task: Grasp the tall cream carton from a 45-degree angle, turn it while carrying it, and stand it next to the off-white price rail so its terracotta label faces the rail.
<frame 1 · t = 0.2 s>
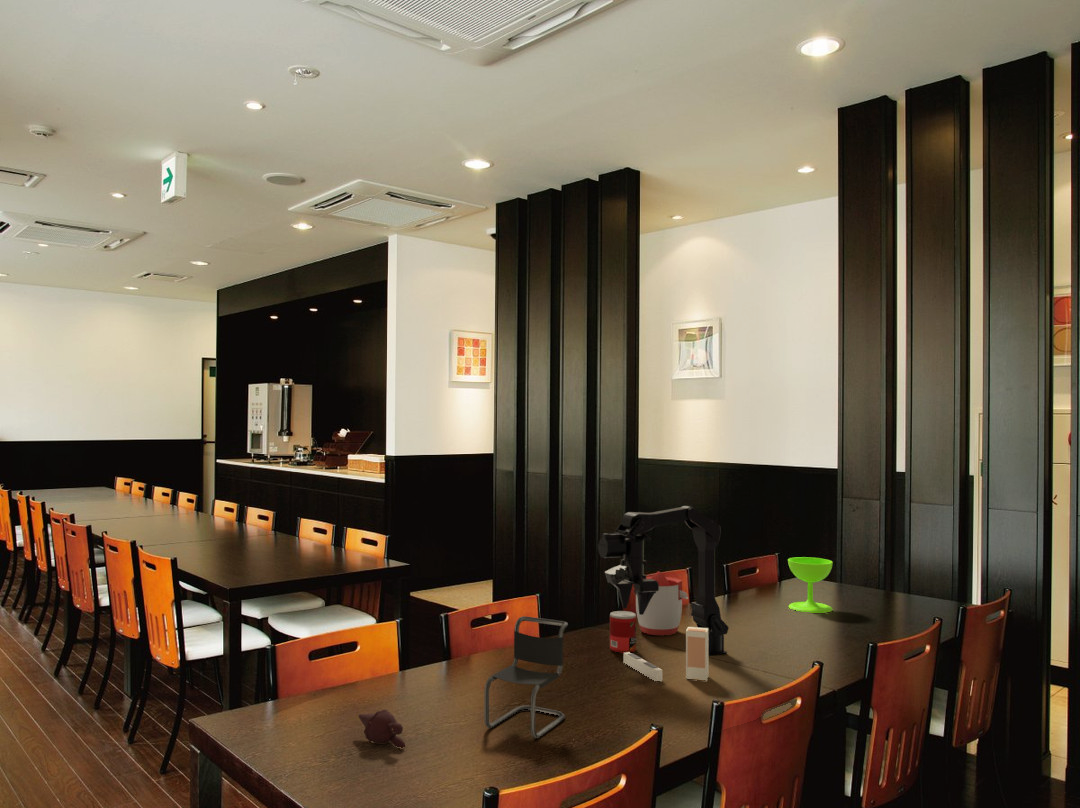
hand: (632, 611, 227), 15 cm above the table, tool pointing down, fingers open, 9 cm apart
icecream: (380, 743, 168), on the table
carton: (697, 677, 213), on the table
chair: (526, 725, 179), on the table
wineglass: (810, 609, 296), on the table
price rail: (642, 671, 218), on the table
citrus juicer: (661, 632, 261), on the table
canned food: (622, 650, 239), on the table
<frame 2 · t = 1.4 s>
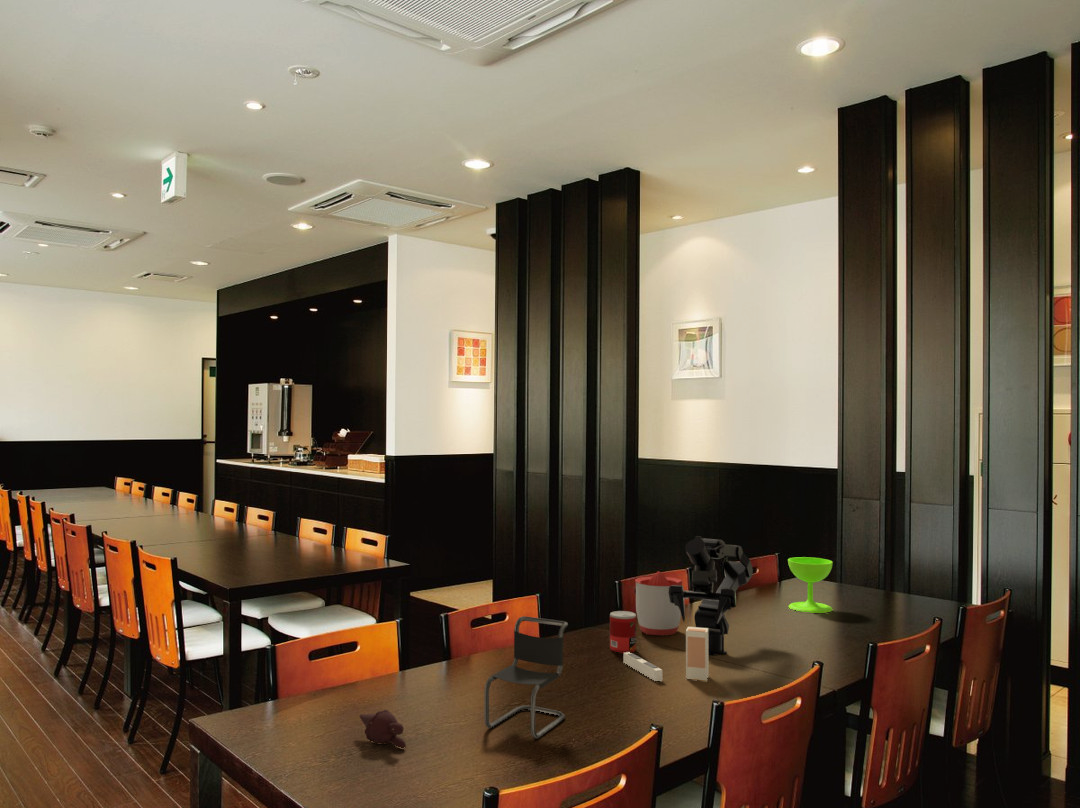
hand: (699, 621, 221), 13 cm above the table, tool tilted 45°, fingers open, 9 cm apart
nothing on the table moved.
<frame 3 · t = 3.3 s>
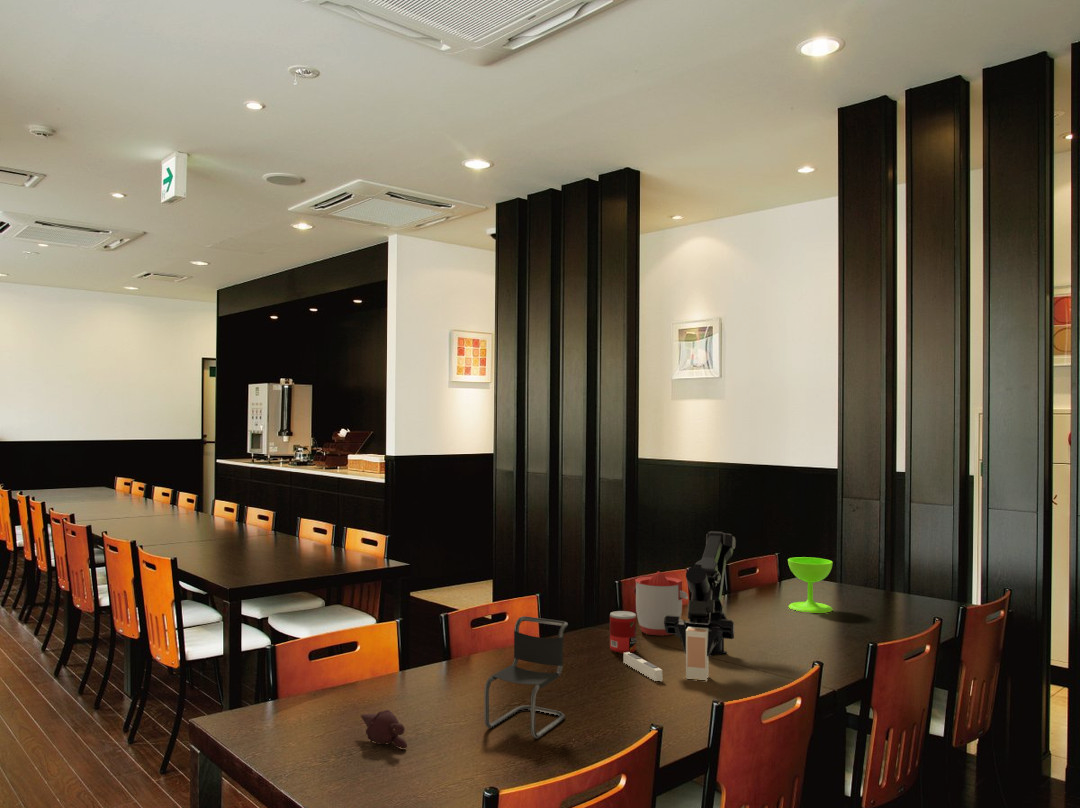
hand: (696, 654, 212), 7 cm above the table, tool tilted 45°, fingers closed on carton, 5 cm apart
carton: (697, 677, 213), on the table, touching gripper
everything else where it was.
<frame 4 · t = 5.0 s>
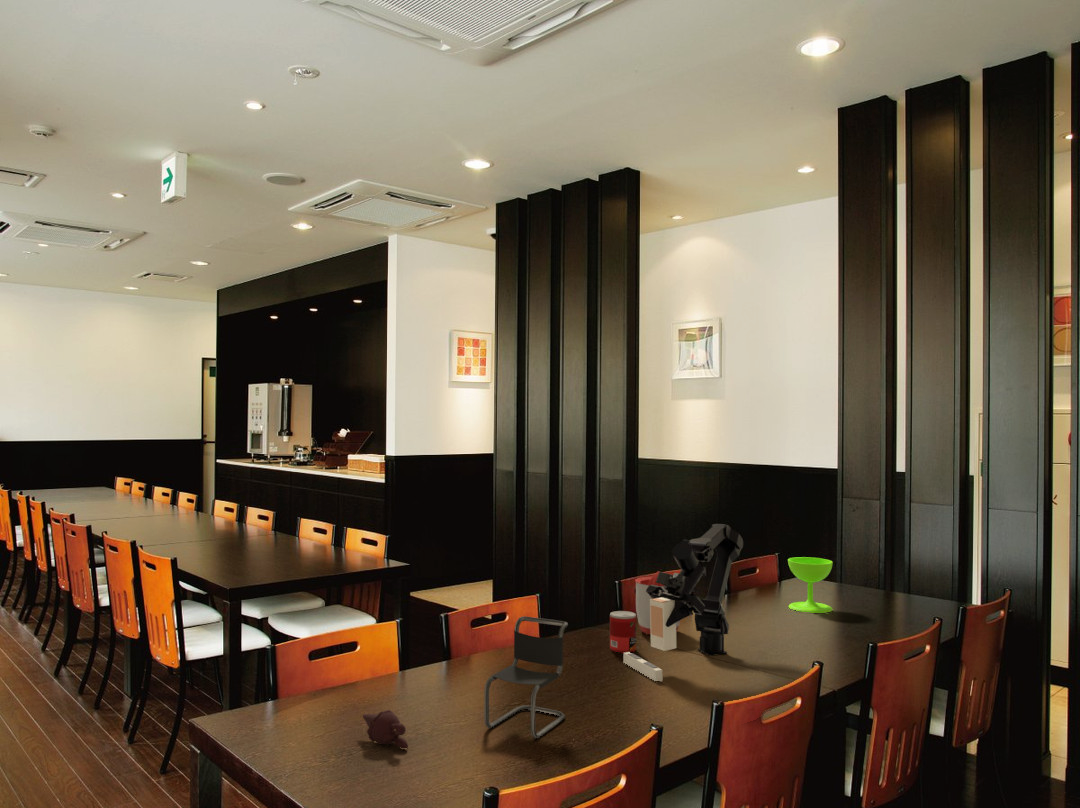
hand: (659, 623, 218), 13 cm above the table, tool tilted 45°, fingers closed on carton, 5 cm apart
carton: (663, 647, 218), point 7 cm above the table, touching gripper
everything else where it was.
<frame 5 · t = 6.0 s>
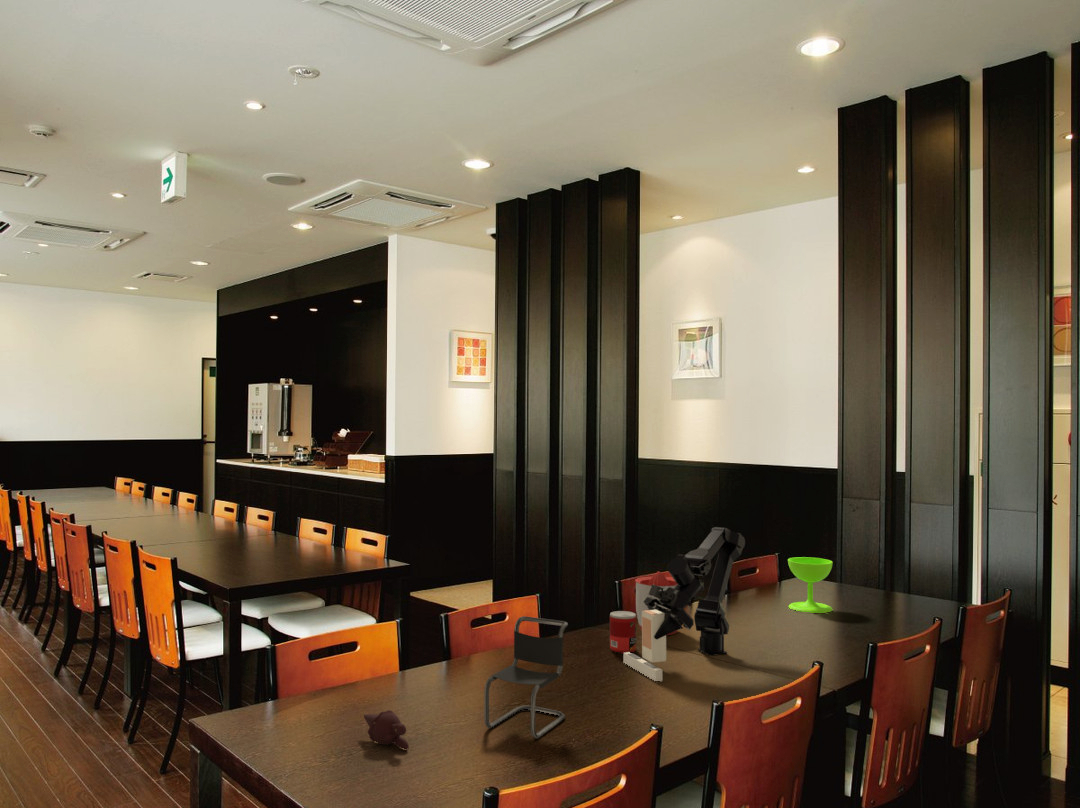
hand: (649, 635, 220), 9 cm above the table, tool tilted 45°, fingers closed on carton, 5 cm apart
carton: (654, 659, 221), point 3 cm above the table, touching gripper
everything else where it was.
when the fingers open (7 cm above the table, at t = 6.8 s): carton stays where it is, on the table.
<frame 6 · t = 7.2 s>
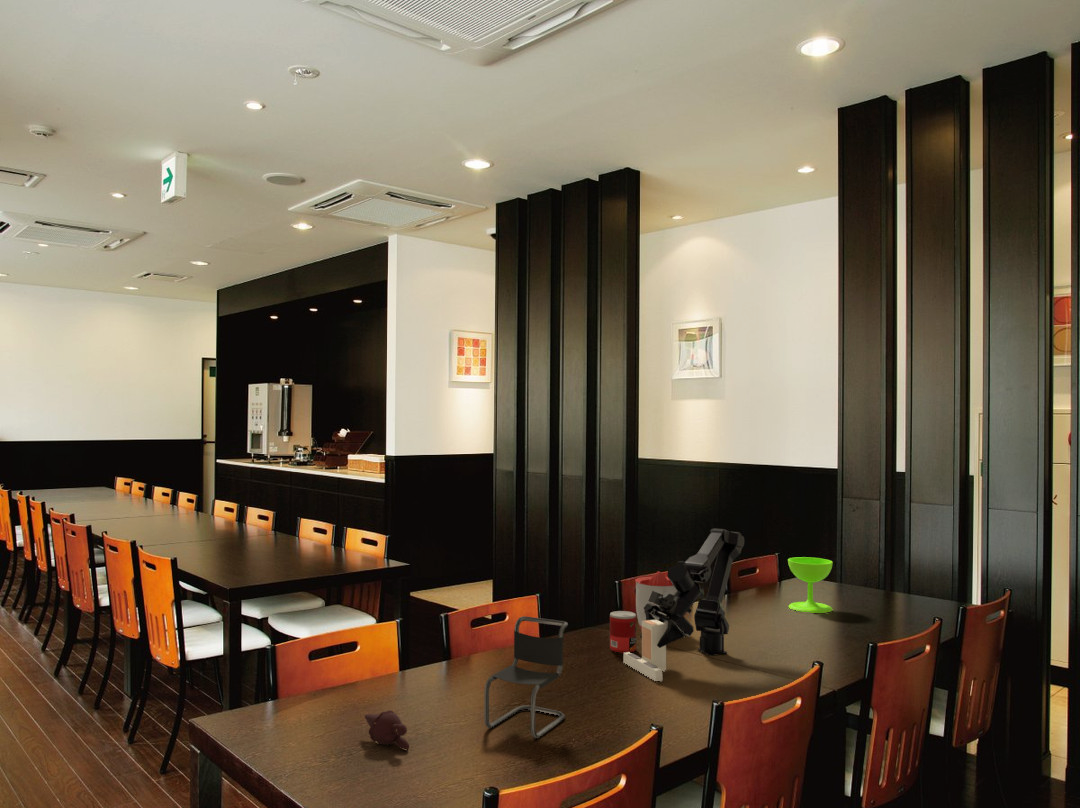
hand: (649, 642, 220), 8 cm above the table, tool tilted 45°, fingers open, 9 cm apart
carton: (653, 669, 220), on the table
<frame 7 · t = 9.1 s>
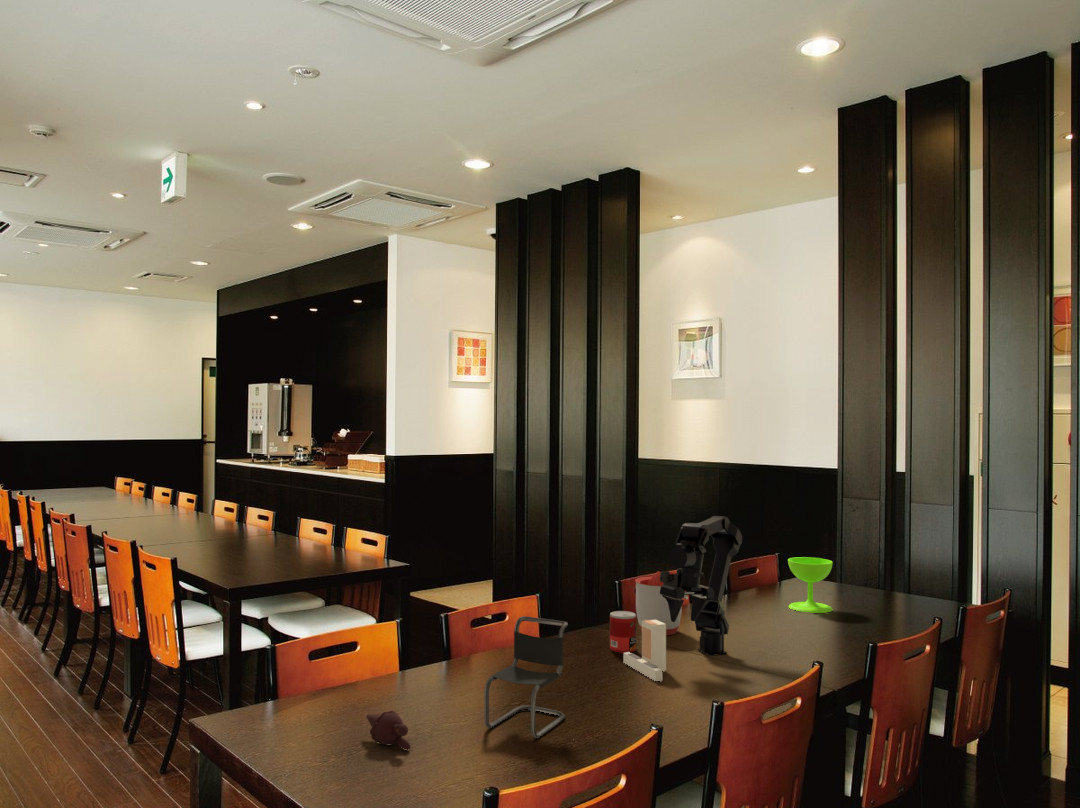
hand: (682, 621, 226), 12 cm above the table, tool pointing down, fingers open, 9 cm apart
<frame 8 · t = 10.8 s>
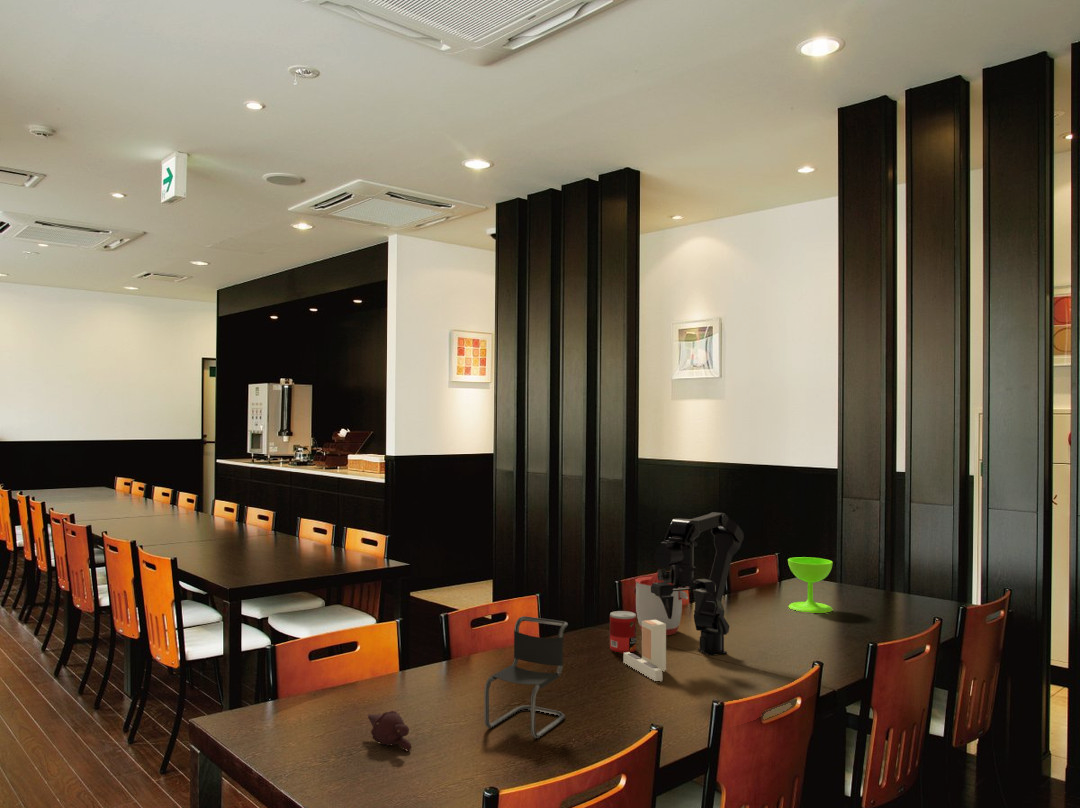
hand: (683, 617, 227), 13 cm above the table, tool pointing down, fingers open, 9 cm apart
at the end: carton inside the target area (0.0 cm from its centre), on the table; carton tilted 0°; the gripper is holding nothing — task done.
